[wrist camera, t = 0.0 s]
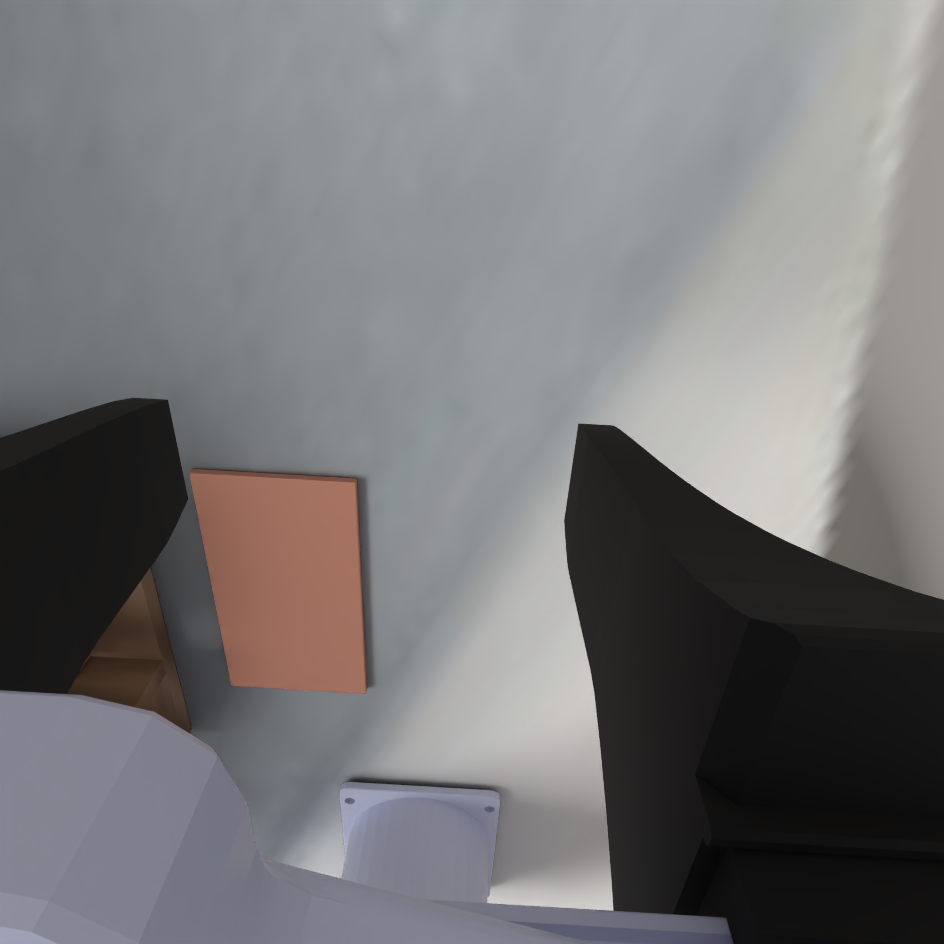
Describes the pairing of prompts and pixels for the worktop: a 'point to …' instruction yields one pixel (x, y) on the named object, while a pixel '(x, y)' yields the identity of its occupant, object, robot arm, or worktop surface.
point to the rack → (136, 660)
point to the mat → (285, 577)
